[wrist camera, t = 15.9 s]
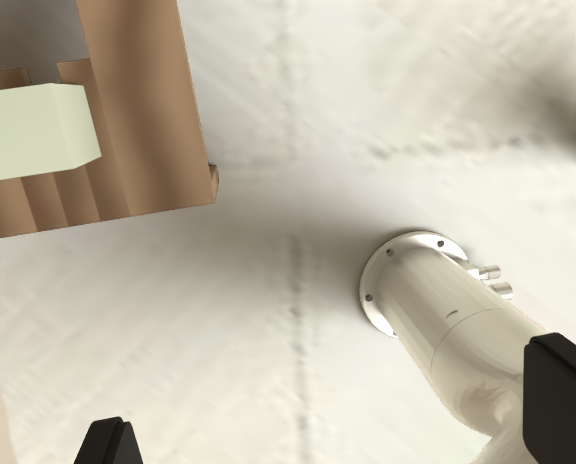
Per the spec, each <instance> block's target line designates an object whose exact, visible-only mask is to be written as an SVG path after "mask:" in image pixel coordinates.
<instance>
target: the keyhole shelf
mask: <svg viewBox="0 0 576 464" xmlns="http://www.w3.org/2000/svg"><path fill="white" fill-rule="evenodd" d="M75 1H76V5H77V9H78V13H79V17H80V21H81V25H82V29H83V33H84V37H85V40H86V44H87V48H88V52H89V56H90V58H89V59H82V60H75V61H68V62H61V63H56V64H57V67H58V71H59V75H60V78H61V82H62V84H68V85H82V86H84V90H85V94H86V98H87V102H88V106H89V110H90V113H91V117H92V121H93V125H94V129H95V133H96V137H97V140H98V144H99V148H100V152H101V157H99V158H97V159H95V160H92V161H90V162H88V163H86V164H84V165H81V166H79V167H77V168H75V169H69V170H62V171H56V172H49V173H42V174H36V175H29V176H23V177H16V178H9V179H3V180H0V238H4V237H10V236H16V235H22V234H28V233H35V232H41V231H47V230H53V229H59V228H65V227H71V226H77V225H83V224H89V223H95V222H101V221H107V220H113V219H120V218H126V217H132V216H138V215H144V214H150V213H156V212H162V211H168V210H174V209H180V208H186V207H192V206H199V205H205V204H211V203H215V199H216V194H217V188H218V183H219V177H218V172H217V167H216V165H214V166H209V165H208V160H207V155H206V150H205V145H204V140H203V135H202V130H201V124H200V119H199V114H198V109H197V104H196V99H195V94H194V89H193V84H192V79H191V73H190V68H189V63H188V58H187V53H186V48H185V43H184V38H183V33H182V28H181V22H180V17H179V12H178V7H177V2H176V0H75ZM26 86H32V84H31V80H30V77H29V74H28V70H27V69H24V68H18V69H11V70H4V71H0V90H5V89H12V88H19V87H26Z"/></svg>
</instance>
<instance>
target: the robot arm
mask: <svg viewBox="0 0 576 464" xmlns="http://www.w3.org/2000/svg"><path fill="white" fill-rule="evenodd" d="M438 241H439V242H438ZM437 242H438V243H437ZM388 249H390V250H389V251H388V252H386V251H387V250H388ZM500 275H501V272H500V269H499V267H498V266H497V265H493V266H487V267H484V268H480V269H477V268H476V267H473V266H472V265H470V262H469V260H468V257H467V256H466V255H465V253H464V252H463V250H462V249H461V248H460V247H459V246H458V245H457V244H455V243H454V242H453V241H451V240H450V239H448V238H447V237H444V236H442V235H440V234H437V233H433V232H428V231H416V232H410V233H405V234H402V235H400V236H397V237H395V238H393V239H391V240H390V241H388V242H386V243H385V244H384V245H382V246H381V247H380V248H379V249H378V250H377V251H376V252H375V253H374V254H373V255H372V257H371V258H370V259H369V261H368V263H367V264H366V266H365V268H364V270H363V273H362V276H361V280H360V287H359V293H360V301H361V305H362V308H363V310H364V312H365V314H366V316H367V317H368V319H369V320H370V322H371V323H372V324H373V325H374V326H375V327H376V328H377V329H378V330H379V331H381V332H382V333H384V334H386V335H388V336H390V337H393V338H396V339H399V340H400V341H401V343H402V344H403V346H404V347H405V349H406V350H407V352H408V353H409V355H410V356H411V358H412V359H413V361H414V362H415V363H416V365H417V366H418V368H419V369H420V371H421V372H422V374H423V375H424V377H425V378H426V380H427V381H428V383H429V384H430V386H431V387H432V389H433V390H434V392H435V393H436V395H437V396H438V397H439V399H440V400H441V402H442V403H443V404H444V406H445V407H446V408H447V410H448V411H449V412H450V413H451V414H452V415H453V416H454V417H455V418H456V419H457V420H459V421H460V422H461V423H463V424H464V425H466V426H468V427H469V428H471V429H473V430H474V431H477V432H479V433H482V434H484V435H487V436H490V437H493V438H492V439H491V440H490V441H489V442H488V443H487V444H486V446H485V447H484V448H483V449H482V451H481V452H480V453H479V455H478V456H477V457H476V458H475V459H474V460H473V461H472V462H471V463H470V464H576V345H575V344H574V343H572V342H571V341H570V340H568V339H567V338H565V337H564V336H563V335H561V334H559V333H555V332H554V333H550V332H549V331H547V330H546V329H545V328H543V327H542V326H541V325H539V324H538V323H537V322H535V321H534V320H533V319H531V318H530V317H528V316H527V315H525V314H524V313H523V312H521V311H520V310H519V309H517V308H516V307H515V306H513V305H512V304H511V303H509V302H508V301H507V300H511V299H512V297H513V291H512V288H511V286H510V285H509V283H507V282H503V283H498V284H492V285H489V286H487V285H485V284H484V283H483V282H481V281H480V280H486V279H487V280H489V279H495V278H499V277H500ZM368 294H369V295H368ZM366 295H368V296H366ZM74 464H143V461H142V458H141V454H140V451H139V448H138V444H137V441H136V438H135V434H134V431H133V428H132V425H131V423H130V422H129V421H128V422H123V420H122V418H121V417H119V416H118V417H113V418H108V419H102V420H97V421H94V422H92V424H91V425H90V427H89V430H88V432H87V434H86V436H85V439H84V441H83V443H82V446H81V448H80V450H79V452H78V455H77V457H76V459H75V461H74Z"/></svg>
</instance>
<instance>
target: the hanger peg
mask: <svg viewBox="0 0 576 464" xmlns="http://www.w3.org/2000/svg"><path fill="white" fill-rule="evenodd" d="M99 157H101V152H100V148H99V144H98V140H97V137H96V133H95V129H94V125H93V121H92V117H91V113H90V110H89V106H88V102H87V98H86V94H85V90H84V86H82V85H68V84H54V83H48V84H41V85H34V86H26V87H19V88H12V89H5V90H0V180H3V179H9V178H16V177H23V176H29V175H36V174H42V173H49V172H56V171H62V170H69V169H75V168H77V167H79V166H81V165H84V164H86V163H88V162H90V161H92V160H95V159H97V158H99Z"/></svg>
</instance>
